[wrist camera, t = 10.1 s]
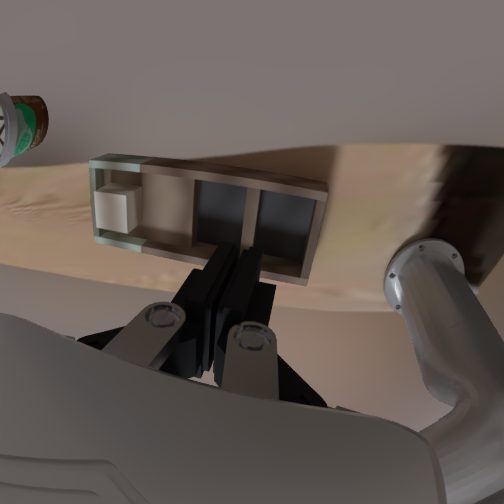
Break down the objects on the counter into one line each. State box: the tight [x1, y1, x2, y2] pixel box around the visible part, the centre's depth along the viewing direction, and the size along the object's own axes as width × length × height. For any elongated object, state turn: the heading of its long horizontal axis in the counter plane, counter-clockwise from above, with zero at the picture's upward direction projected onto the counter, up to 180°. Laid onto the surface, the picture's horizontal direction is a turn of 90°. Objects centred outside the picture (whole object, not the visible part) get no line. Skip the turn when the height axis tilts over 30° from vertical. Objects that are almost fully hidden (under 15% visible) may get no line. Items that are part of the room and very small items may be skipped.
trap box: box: [89, 154, 328, 286], centre depth 39 cm, size 30×12×4 cm, turn 83°
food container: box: [0, 92, 49, 167], centre depth 35 cm, size 12×6×10 cm, turn 146°
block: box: [94, 183, 142, 234], centre depth 38 cm, size 5×5×4 cm
